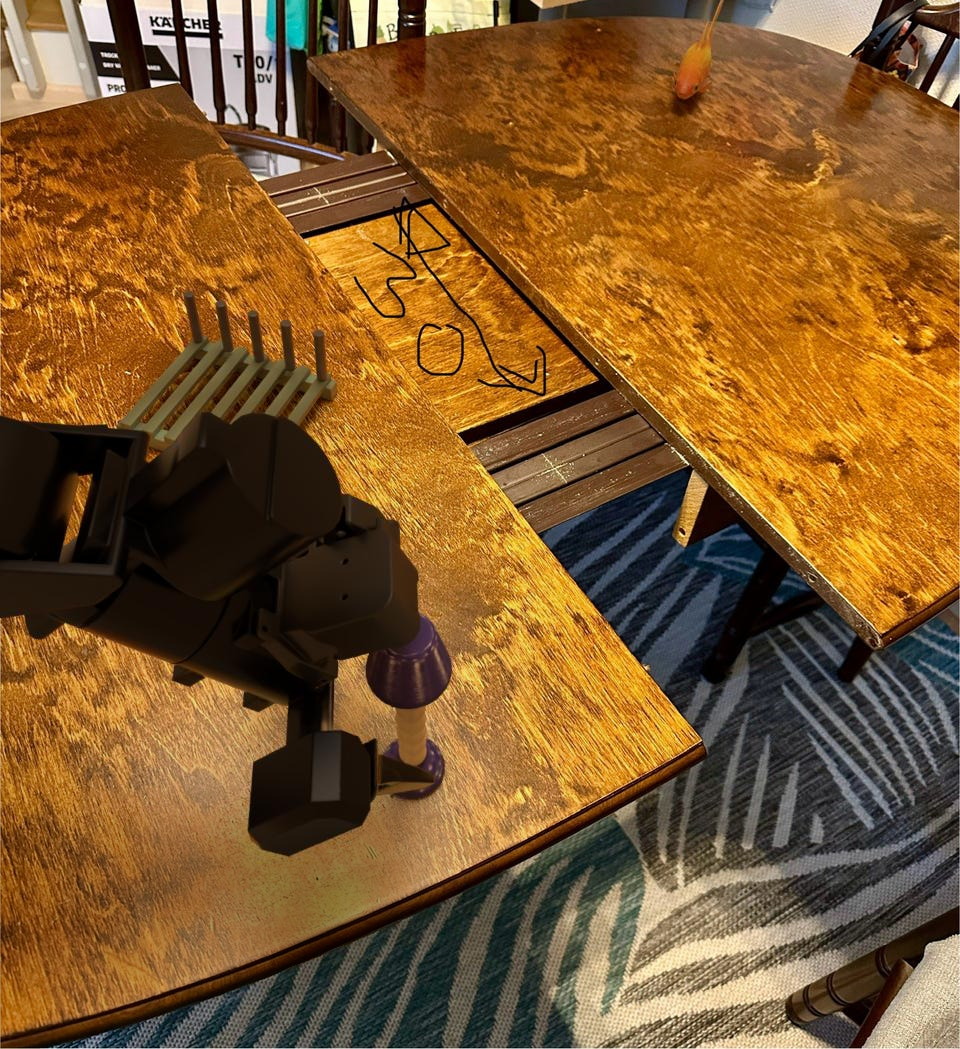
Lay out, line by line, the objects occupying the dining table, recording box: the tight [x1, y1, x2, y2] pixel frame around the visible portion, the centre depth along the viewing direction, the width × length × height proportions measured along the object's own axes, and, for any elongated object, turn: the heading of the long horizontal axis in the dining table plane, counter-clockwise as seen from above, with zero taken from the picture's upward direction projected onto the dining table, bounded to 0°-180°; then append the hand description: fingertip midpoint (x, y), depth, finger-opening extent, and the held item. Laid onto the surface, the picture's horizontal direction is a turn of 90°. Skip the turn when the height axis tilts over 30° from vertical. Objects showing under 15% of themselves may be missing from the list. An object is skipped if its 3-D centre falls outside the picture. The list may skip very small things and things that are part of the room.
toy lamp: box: [365, 612, 453, 800], centre depth 52 cm, size 5×5×17 cm
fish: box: [672, 0, 725, 100], centre depth 119 cm, size 22×6×10 cm, turn 159°
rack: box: [115, 290, 339, 452], centre depth 74 cm, size 14×12×7 cm
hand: (425, 706), depth 52 cm, fingers open, 9 cm apart
